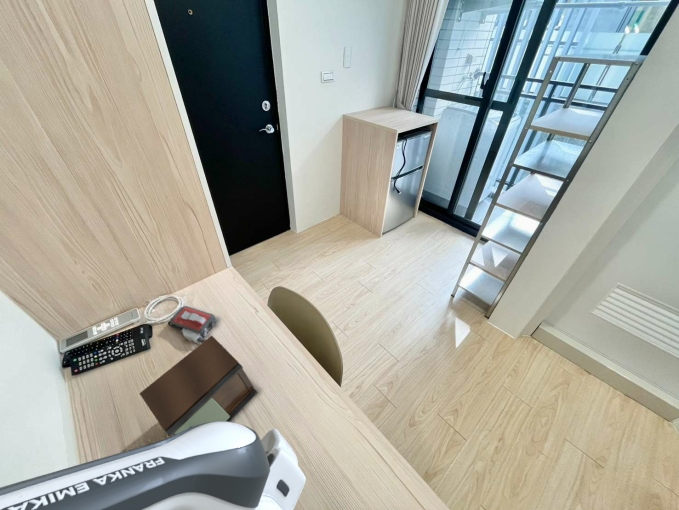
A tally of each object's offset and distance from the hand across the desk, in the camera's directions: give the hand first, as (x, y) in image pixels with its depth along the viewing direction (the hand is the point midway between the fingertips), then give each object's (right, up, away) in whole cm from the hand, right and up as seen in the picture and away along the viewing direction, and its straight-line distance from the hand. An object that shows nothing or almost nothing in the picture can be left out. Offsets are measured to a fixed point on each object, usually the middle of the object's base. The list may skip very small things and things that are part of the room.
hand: (222, 478), depth 44 cm
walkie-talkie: (-22, +14, +36) cm, 45 cm away
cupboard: (-11, +1, +22) cm, 24 cm away
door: (-7, -4, +15) cm, 17 cm away
